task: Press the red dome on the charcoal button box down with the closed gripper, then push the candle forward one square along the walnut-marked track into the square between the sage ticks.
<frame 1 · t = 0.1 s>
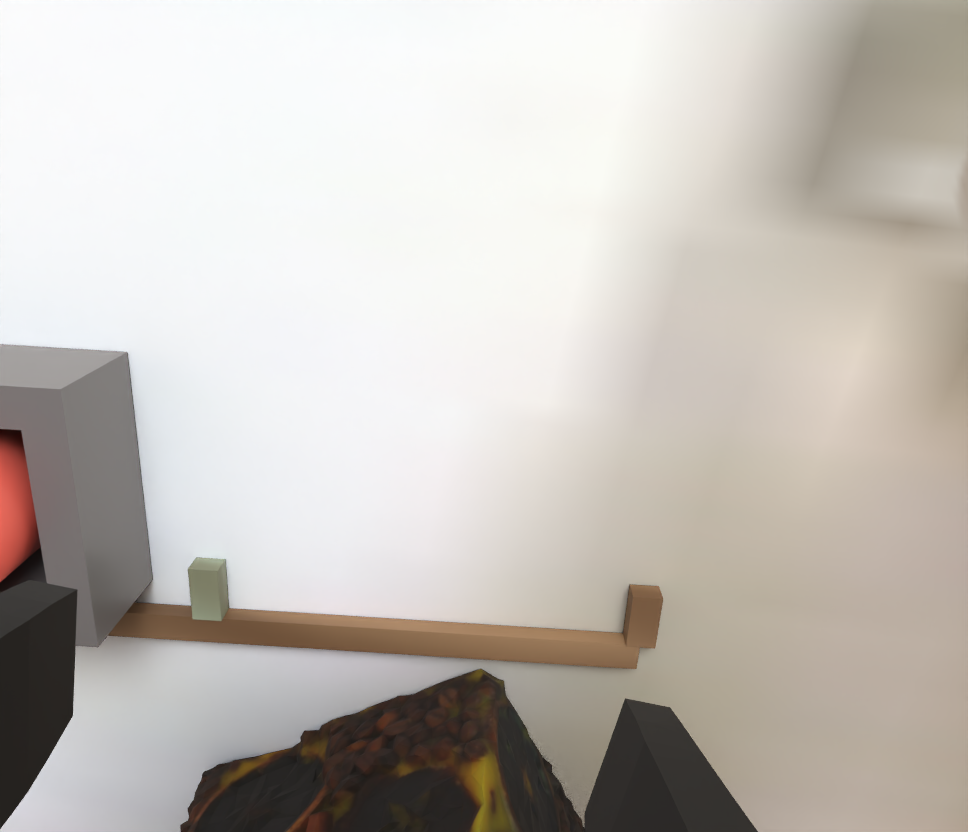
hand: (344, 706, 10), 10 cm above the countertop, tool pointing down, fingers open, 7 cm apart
track: (231, 817, 24), on the countertop
button box: (16, 464, 20), on the countertop
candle: (419, 820, 24), on the countertop
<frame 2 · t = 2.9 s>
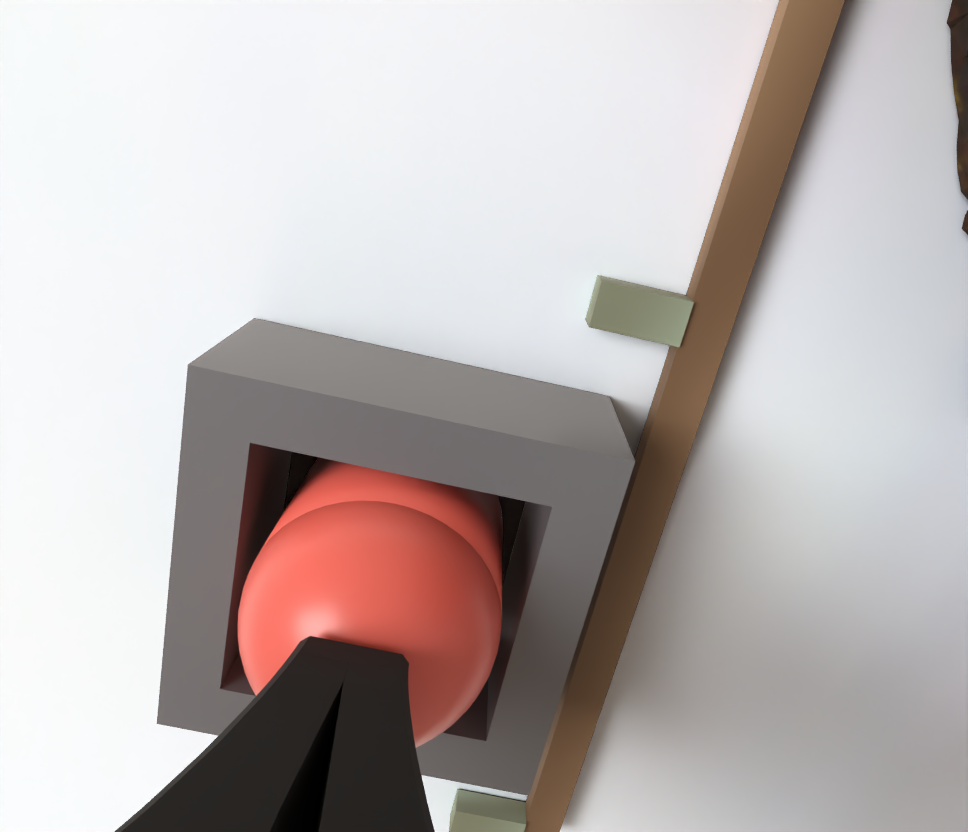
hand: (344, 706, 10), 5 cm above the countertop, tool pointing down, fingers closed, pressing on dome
dome: (378, 598, 12), point 3 cm above the countertop, slide at 0.6 cm, touching gripper
button box: (401, 515, 15), on the countertop
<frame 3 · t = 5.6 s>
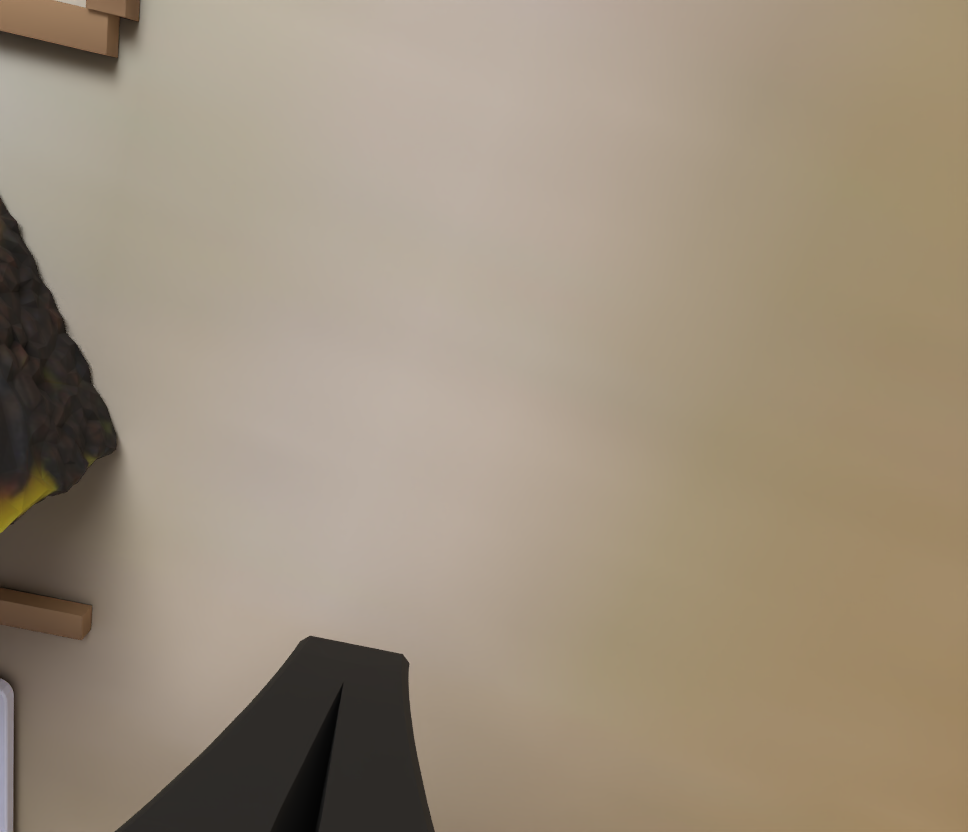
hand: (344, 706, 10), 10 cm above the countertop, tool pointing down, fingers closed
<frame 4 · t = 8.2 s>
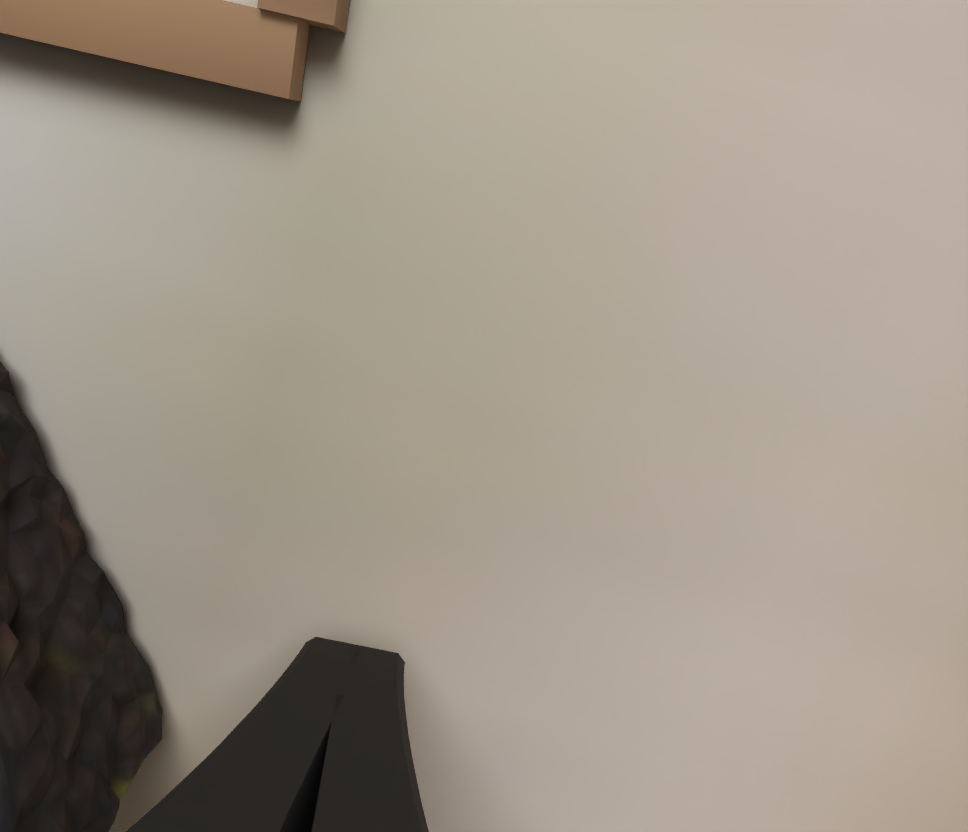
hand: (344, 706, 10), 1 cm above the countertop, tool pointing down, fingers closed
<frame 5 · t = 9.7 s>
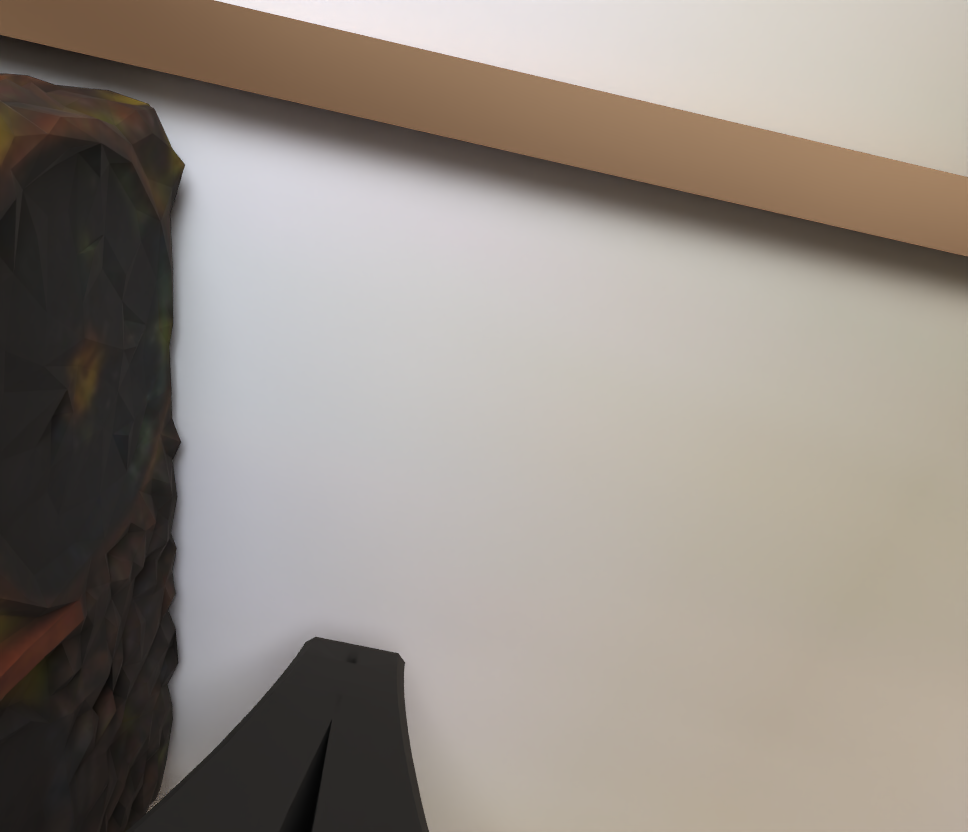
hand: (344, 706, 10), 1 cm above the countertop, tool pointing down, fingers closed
track: (12, 570, 11), on the countertop
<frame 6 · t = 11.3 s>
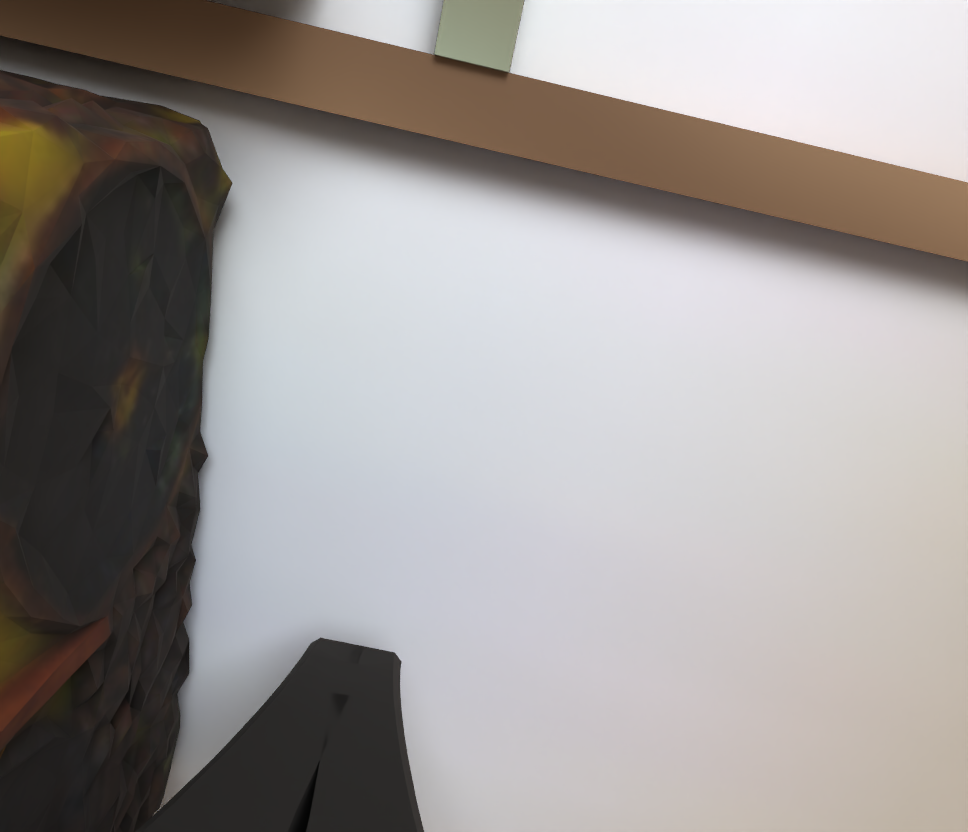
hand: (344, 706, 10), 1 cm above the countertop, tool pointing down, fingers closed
track: (361, 639, 11), on the countertop
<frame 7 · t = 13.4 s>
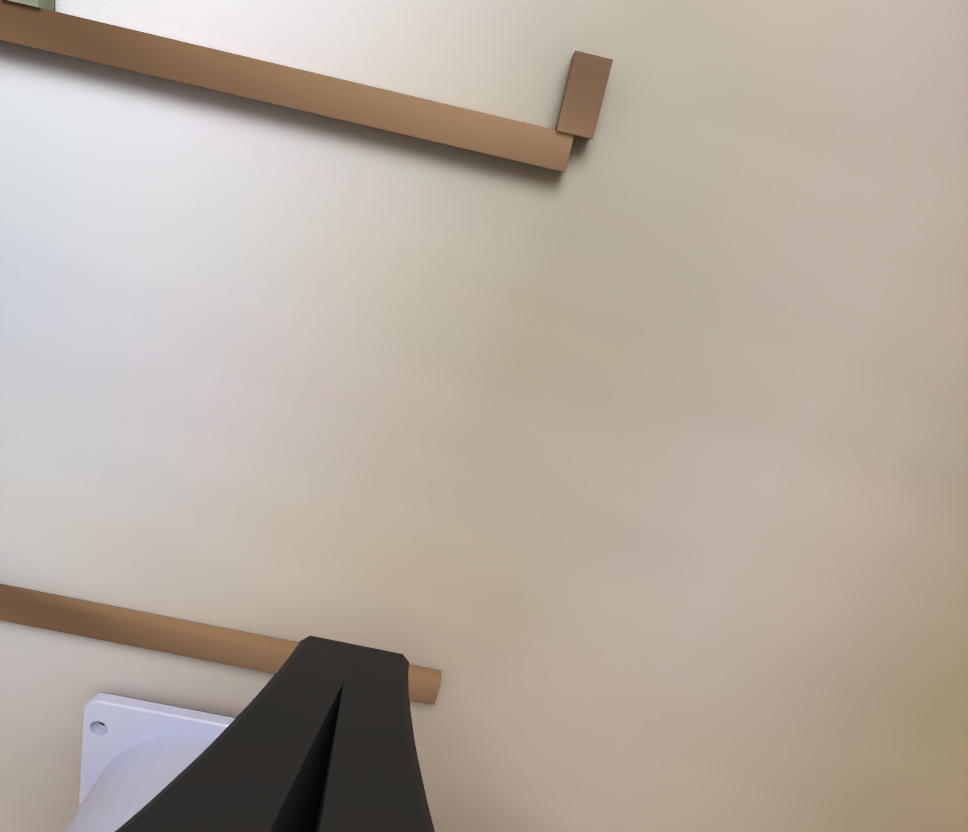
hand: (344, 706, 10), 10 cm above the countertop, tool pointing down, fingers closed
track: (30, 352, 19), on the countertop
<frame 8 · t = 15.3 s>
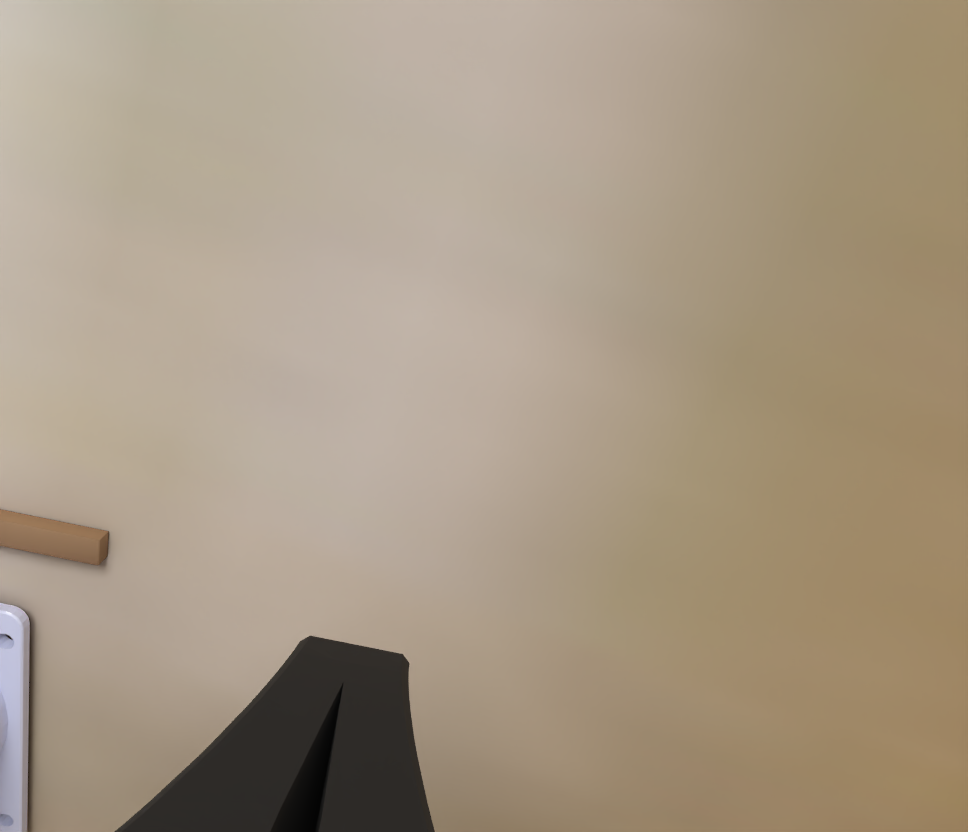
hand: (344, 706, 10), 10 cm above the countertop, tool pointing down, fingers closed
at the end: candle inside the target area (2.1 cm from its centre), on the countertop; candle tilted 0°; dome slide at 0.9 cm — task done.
